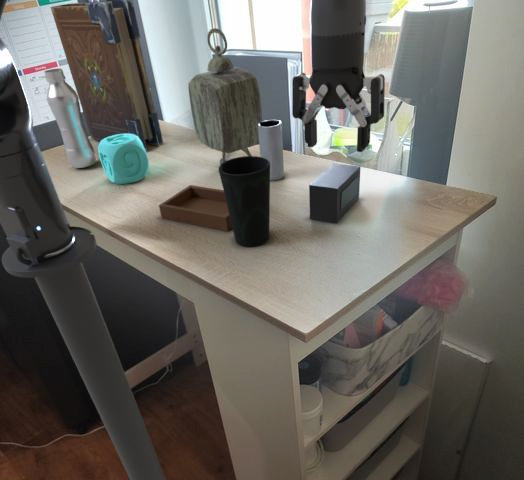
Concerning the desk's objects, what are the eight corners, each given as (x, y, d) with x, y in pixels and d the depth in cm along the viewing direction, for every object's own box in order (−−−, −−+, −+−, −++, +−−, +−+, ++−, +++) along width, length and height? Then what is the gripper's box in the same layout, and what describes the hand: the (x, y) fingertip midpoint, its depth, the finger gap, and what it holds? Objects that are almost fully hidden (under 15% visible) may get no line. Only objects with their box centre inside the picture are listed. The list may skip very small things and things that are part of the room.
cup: (239, 255, 74) (229, 179, 66) (222, 235, 79) (211, 163, 71) (283, 242, 76) (278, 167, 68) (264, 223, 81) (257, 152, 73)
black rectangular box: (337, 223, 79) (338, 189, 75) (309, 219, 81) (309, 185, 77) (359, 199, 85) (361, 166, 81) (333, 196, 87) (333, 163, 83)
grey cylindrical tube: (259, 180, 96) (254, 126, 89) (266, 171, 99) (262, 119, 93) (280, 181, 95) (276, 127, 88) (287, 172, 98) (284, 119, 91)
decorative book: (163, 143, 120) (132, -3, 100) (141, 152, 116) (104, 2, 96) (108, 132, 132) (70, -1, 112) (87, 140, 128) (44, 4, 109)
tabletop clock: (266, 165, 102) (254, 27, 86) (230, 177, 99) (211, 35, 82) (231, 150, 112) (215, 23, 95) (198, 160, 108) (175, 30, 92)
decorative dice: (138, 167, 108) (129, 130, 103) (152, 176, 103) (143, 138, 98) (105, 177, 105) (93, 140, 100) (118, 187, 100) (106, 148, 95)
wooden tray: (227, 231, 80) (225, 217, 79) (161, 218, 87) (158, 205, 85) (256, 208, 86) (255, 194, 85) (192, 197, 93) (190, 184, 91)
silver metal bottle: (77, 161, 115) (45, 68, 102) (103, 160, 114) (74, 66, 101) (65, 171, 110) (30, 74, 97) (92, 170, 109) (60, 72, 96)
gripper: (279, 34, 66) (286, 152, 77) (377, 31, 60) (370, 160, 71) (303, 24, 71) (306, 137, 82) (396, 21, 65) (387, 144, 76)
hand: (336, 148), depth 76 cm, fingers open, 8 cm apart
